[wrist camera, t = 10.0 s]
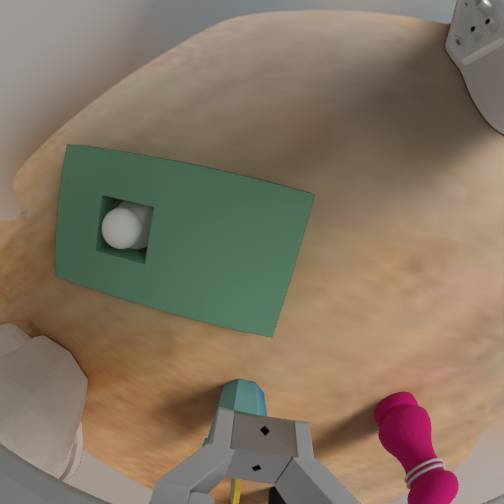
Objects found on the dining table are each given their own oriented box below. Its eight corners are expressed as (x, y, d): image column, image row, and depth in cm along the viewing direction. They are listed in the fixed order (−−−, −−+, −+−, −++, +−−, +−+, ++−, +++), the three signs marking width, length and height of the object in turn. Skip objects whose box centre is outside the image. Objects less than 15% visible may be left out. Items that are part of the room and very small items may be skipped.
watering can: (40, 261, 31) (-72, 326, 13) (135, 424, 37) (93, 524, 19) (-14, 292, 33) (-96, 345, 14) (68, 426, 39) (23, 501, 21)
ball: (127, 202, 29) (96, 203, 26) (153, 212, 28) (121, 214, 24) (122, 239, 30) (92, 243, 27) (147, 251, 29) (115, 257, 25)
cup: (196, 345, 33) (162, 447, 18) (265, 339, 32) (267, 446, 18) (221, 427, 36) (207, 518, 22) (278, 423, 36) (282, 517, 21)
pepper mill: (405, 422, 36) (450, 523, 17) (364, 426, 36) (400, 540, 17) (424, 387, 34) (486, 492, 15) (381, 389, 34) (435, 512, 15)
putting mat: (82, 145, 27) (67, 144, 24) (309, 192, 28) (314, 195, 25) (68, 267, 31) (54, 275, 28) (271, 323, 32) (271, 337, 29)
